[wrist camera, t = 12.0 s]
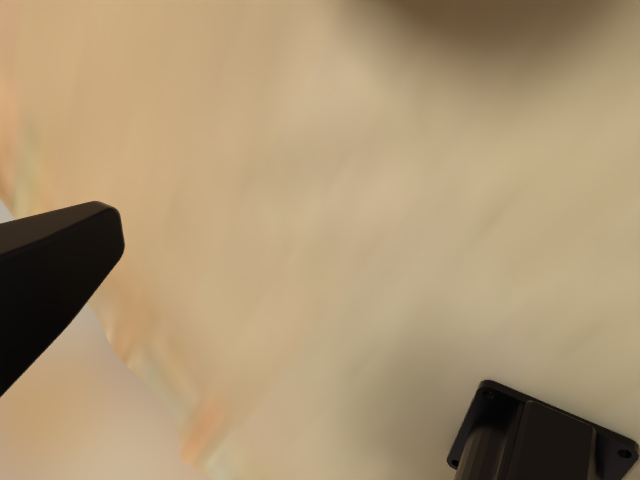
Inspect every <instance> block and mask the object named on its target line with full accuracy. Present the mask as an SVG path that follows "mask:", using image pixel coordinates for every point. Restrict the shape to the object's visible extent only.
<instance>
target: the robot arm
mask: <svg viewBox="0 0 640 480" xmlns="http://www.w3.org/2000/svg"><path fill="white" fill-rule="evenodd" d="M124 248H125V242H124V236H123V230H122V223H121V217H120V213H119V211H118V210H117V209H116V208H114V207H112V206H109V205H107V204H105V203H102V202H99V201H91V202H87V203H83V204H79V205H75V206H71V207H67V208H63V209H58V210H54V211H50V212H46V213H42V214H38V215H34V216H30V217H26V218H22V219H18V220H13V221H9V222H5V223H1V224H0V397H1V396H2V395H3V394H4V393H5V392H6V391H7V390H8V389H9V388H10V387H11V386H12V385H13V384H14V383H15V381H17V379H18V378H19V377H20V376H21V375H22V374H23V373H24V372H25V371H26V370H27V369H28V368H29V367H30V366H31V365H32V364H33V363H34V362H35V360H36V359H37V358H38V357H39V356H40V355H41V354H42V353H43V352H44V351H45V350H46V349H47V348H48V347H49V346H50V345H51V344H52V343H53V341H54V340H55V339H56V338H57V337H58V336H59V335H60V334H61V333H62V332H63V331H64V330H65V328H66V327H67V326H68V325H69V324H70V323H71V322H72V320H73V319H74V318H75V317H76V315H77V314H78V313H79V312H80V310H81V309H82V308H83V306H84V305H85V304H86V303H87V301H88V300H89V299H90V297H91V296H92V295H93V294H94V292H95V291H96V290H97V288H98V287H99V286H100V285H101V283H102V282H103V281H104V279H105V278H106V277H107V275H108V274H109V273H110V272H111V270H112V269H113V268H114V266H115V265H116V264H117V263H118V261H119V260H120V258H121V257H122V255H123V252H124ZM488 391H490V392H492V393H490V392H488ZM623 449H624V450H623ZM638 457H639V446H638V444H637V443H636V442H635V441H633V440H631V439H629V438H627V437H625V436H622V435H620V434H617V433H615V432H613V431H610V430H608V429H606V428H603V427H601V426H599V425H596V424H594V423H591V422H589V421H587V420H584V419H582V418H580V417H577V416H575V415H573V414H570V413H568V412H565V411H563V410H561V409H558V408H556V407H554V406H551V405H549V404H547V403H544V402H542V401H539V400H537V399H535V398H532V397H530V396H528V395H525V394H523V393H520V392H518V391H516V390H513V389H511V388H509V387H506V386H504V385H502V384H499V383H497V382H494V381H491V380H484V381H481V383H480V384H479V386H478V388H477V390H476V393H475V395H474V397H473V399H472V402H471V404H470V406H469V409H468V411H467V413H466V415H465V418H464V420H463V422H462V424H461V427H460V429H459V431H458V433H457V436H456V438H455V440H454V442H453V445H452V447H451V449H450V451H449V454H448V457H447V463H448V465H449V466H450V467H452V468H453V469H455V470H457V472H456V475H455V478H454V480H621V479H622V478H623V476H624V475H625V474H626V473H627V472H628V470H629V469H630V468H631V467H632V466H633V464H634V463H635V462H636V461H637V460H638Z"/></svg>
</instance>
